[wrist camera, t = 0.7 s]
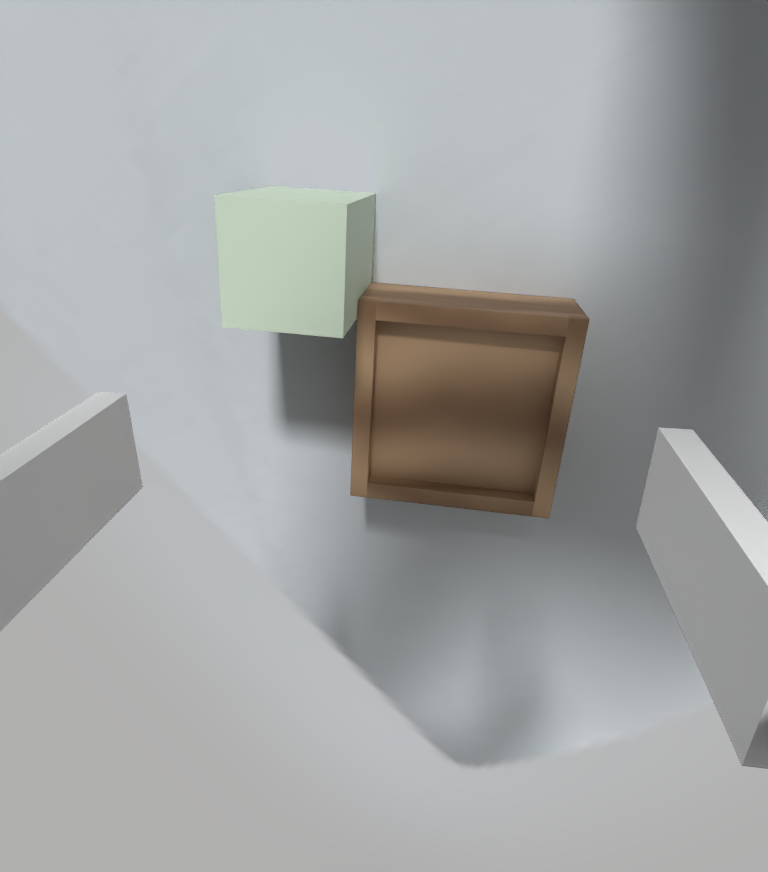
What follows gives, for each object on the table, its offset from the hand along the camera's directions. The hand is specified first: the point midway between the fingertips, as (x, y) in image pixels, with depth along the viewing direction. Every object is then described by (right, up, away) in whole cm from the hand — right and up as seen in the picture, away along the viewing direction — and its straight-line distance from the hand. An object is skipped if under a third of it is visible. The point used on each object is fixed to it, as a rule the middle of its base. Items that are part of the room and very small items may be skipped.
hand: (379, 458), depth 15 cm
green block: (-4, +12, +21) cm, 24 cm away
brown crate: (+5, +4, +23) cm, 24 cm away
